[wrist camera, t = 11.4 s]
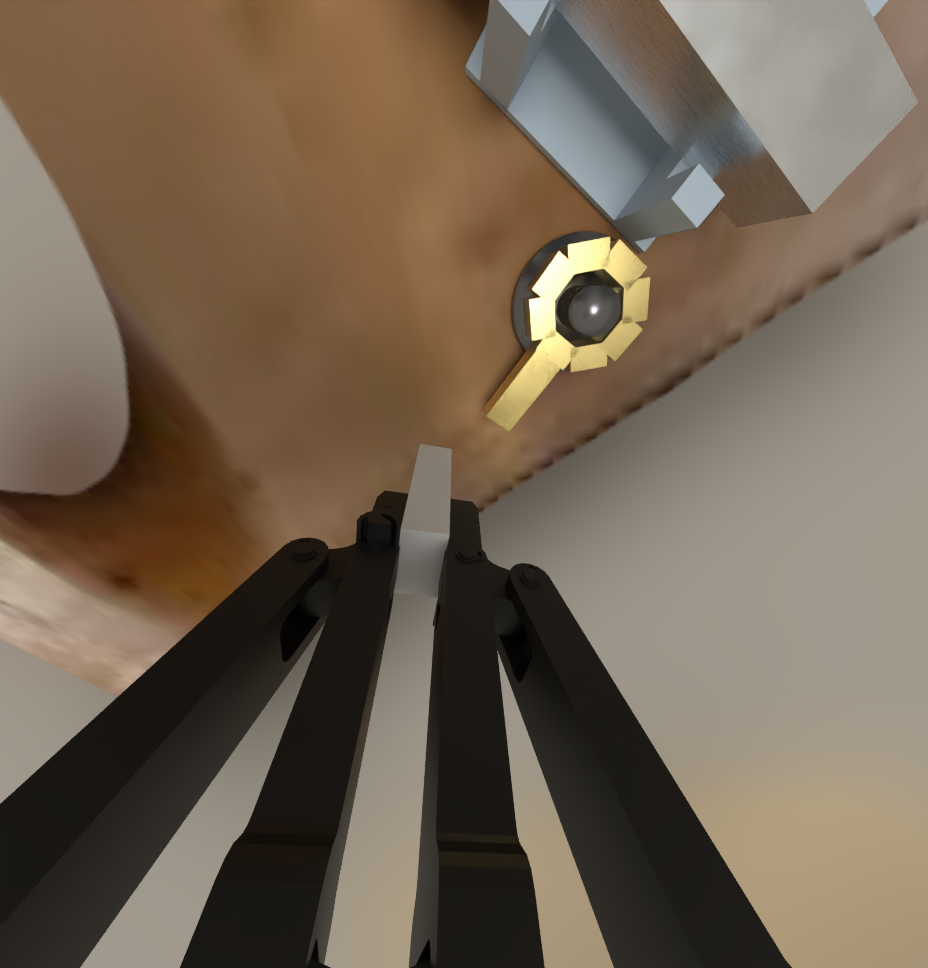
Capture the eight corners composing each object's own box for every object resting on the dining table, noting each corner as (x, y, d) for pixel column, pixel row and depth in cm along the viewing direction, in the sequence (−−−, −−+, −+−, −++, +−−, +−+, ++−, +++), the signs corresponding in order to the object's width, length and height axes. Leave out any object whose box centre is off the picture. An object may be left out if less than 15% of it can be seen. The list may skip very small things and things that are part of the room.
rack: (465, 73, 21) (470, -33, 14) (583, -164, 17) (672, -474, 10) (639, 252, 25) (709, 242, 18) (763, 97, 21) (911, 8, 14)
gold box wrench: (576, 215, 23) (589, 208, 21) (653, 293, 25) (673, 294, 23) (456, 387, 28) (456, 396, 26) (530, 438, 31) (536, 451, 28)
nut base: (487, 321, 27) (494, 330, 22) (570, 200, 24) (599, 179, 19) (573, 390, 30) (595, 411, 25) (659, 290, 26) (704, 292, 22)
